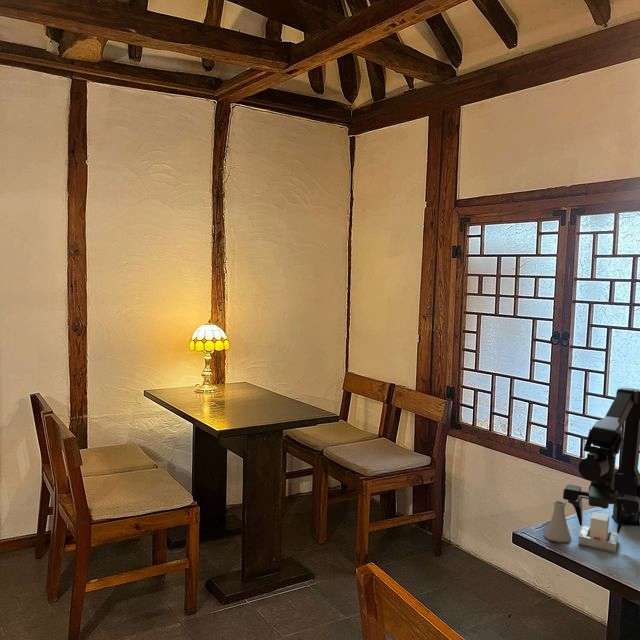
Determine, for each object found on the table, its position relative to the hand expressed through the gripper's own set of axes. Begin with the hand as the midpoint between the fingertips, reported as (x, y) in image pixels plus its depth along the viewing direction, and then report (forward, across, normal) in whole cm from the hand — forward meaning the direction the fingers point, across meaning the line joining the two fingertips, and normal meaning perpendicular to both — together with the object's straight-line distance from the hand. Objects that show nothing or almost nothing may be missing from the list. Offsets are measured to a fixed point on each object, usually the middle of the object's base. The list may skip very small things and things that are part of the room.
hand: (599, 529), depth 174 cm
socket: (+4, 0, 0) cm, 4 cm away
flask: (+4, -10, -2) cm, 11 cm away
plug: (+4, 0, 0) cm, 4 cm away
